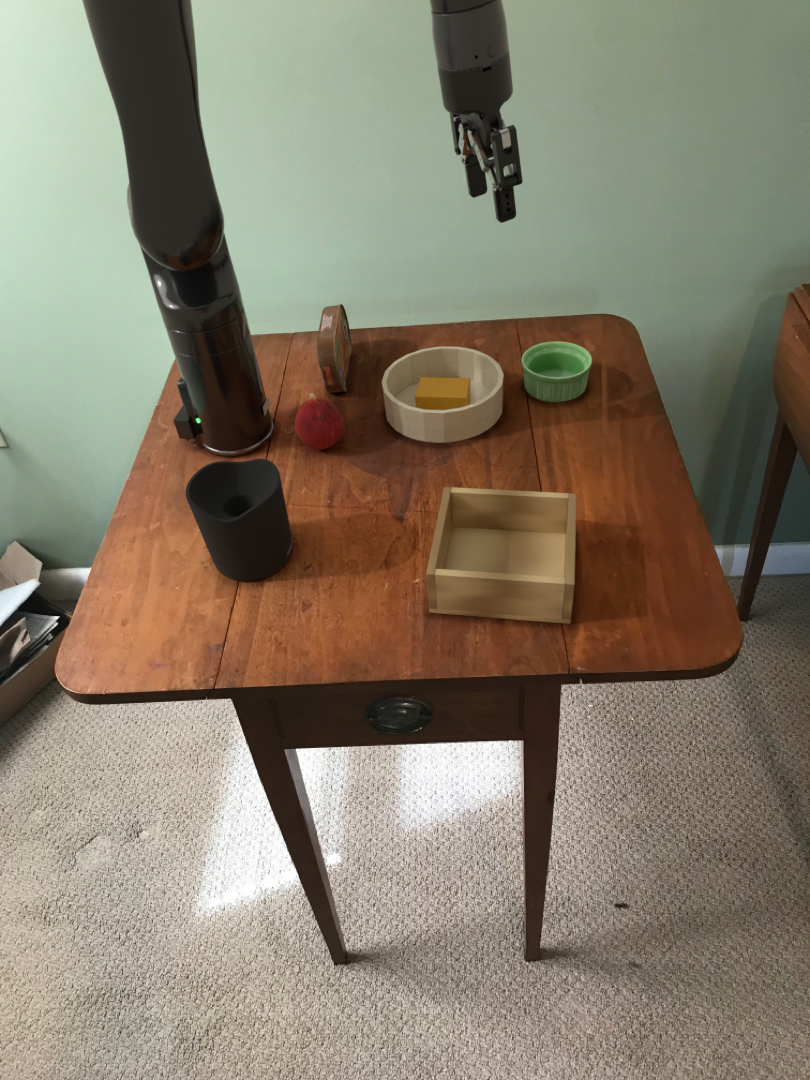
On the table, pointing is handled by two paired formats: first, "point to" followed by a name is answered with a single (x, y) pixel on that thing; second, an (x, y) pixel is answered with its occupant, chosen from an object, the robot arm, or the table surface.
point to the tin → (334, 347)
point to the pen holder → (242, 517)
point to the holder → (504, 555)
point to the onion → (318, 423)
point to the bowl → (451, 422)
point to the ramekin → (556, 371)
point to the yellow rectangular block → (442, 393)
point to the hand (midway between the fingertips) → (492, 206)
